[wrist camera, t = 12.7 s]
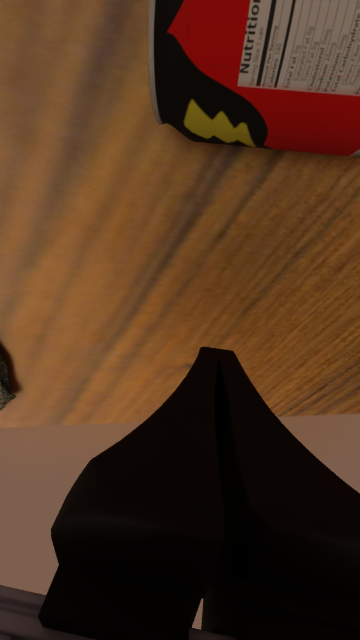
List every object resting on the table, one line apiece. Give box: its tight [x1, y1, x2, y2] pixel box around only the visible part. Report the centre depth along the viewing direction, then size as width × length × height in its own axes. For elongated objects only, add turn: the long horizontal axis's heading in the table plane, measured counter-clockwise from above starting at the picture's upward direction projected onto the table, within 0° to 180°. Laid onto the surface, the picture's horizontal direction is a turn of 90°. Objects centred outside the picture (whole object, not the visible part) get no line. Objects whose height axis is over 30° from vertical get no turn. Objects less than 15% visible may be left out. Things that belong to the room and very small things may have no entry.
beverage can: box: [148, 0, 360, 157], centre depth 12 cm, size 6×6×12 cm
